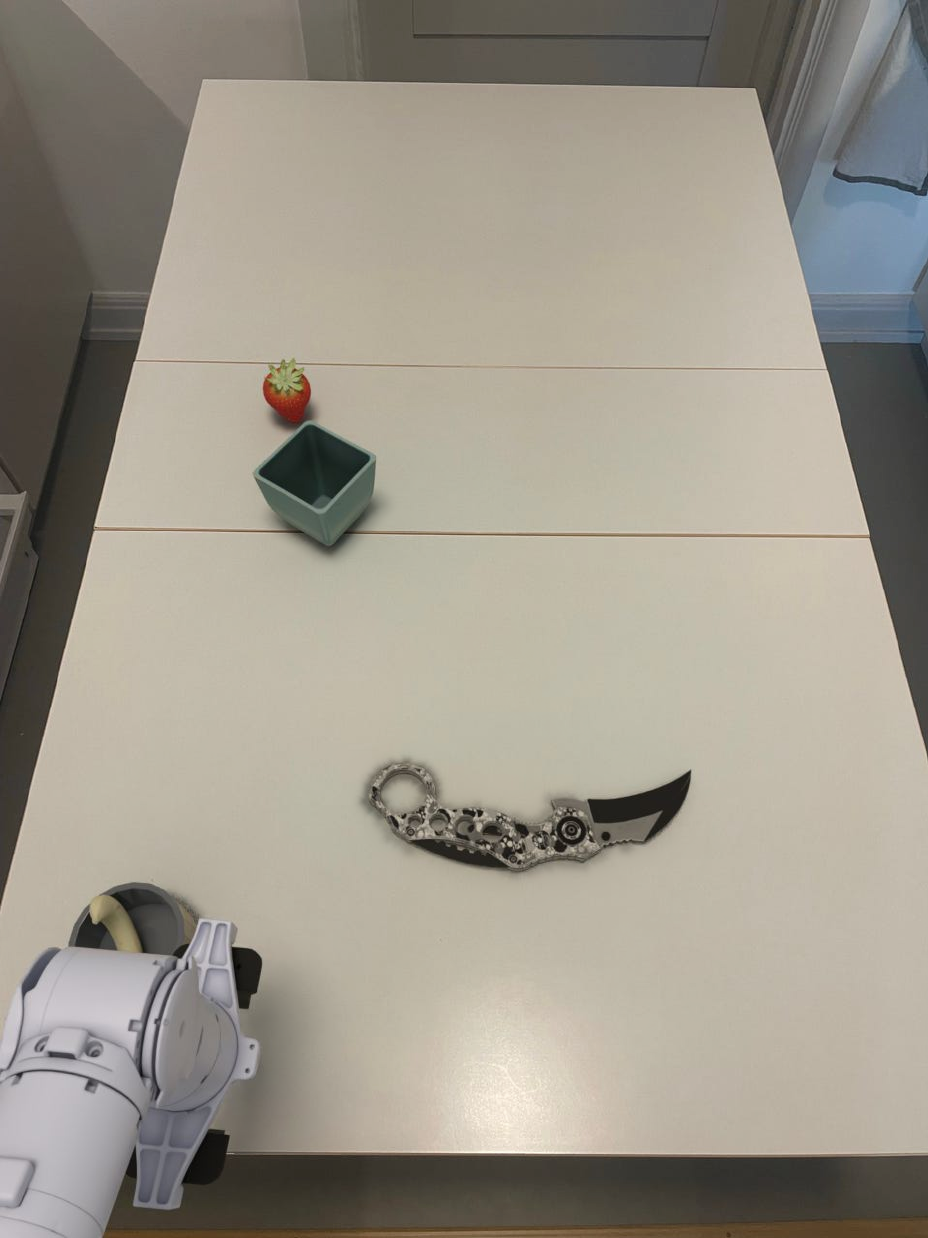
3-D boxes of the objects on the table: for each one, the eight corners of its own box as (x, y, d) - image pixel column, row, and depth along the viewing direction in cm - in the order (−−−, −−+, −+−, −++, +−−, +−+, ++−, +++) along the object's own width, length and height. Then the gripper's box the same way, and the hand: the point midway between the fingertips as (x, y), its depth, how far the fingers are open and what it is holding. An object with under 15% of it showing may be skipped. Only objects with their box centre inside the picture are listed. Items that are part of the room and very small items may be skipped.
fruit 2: (277, 441, 99) (265, 388, 92) (264, 408, 101) (251, 354, 94) (321, 429, 100) (312, 375, 93) (307, 396, 102) (298, 342, 95)
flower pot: (265, 529, 92) (249, 472, 85) (319, 475, 96) (308, 417, 88) (331, 569, 90) (321, 514, 82) (383, 512, 94) (378, 455, 86)
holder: (186, 1015, 68) (167, 1005, 64) (79, 1005, 68) (52, 994, 64) (211, 904, 73) (195, 887, 68) (110, 895, 73) (87, 877, 68)
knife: (693, 765, 78) (704, 877, 73) (689, 773, 80) (699, 883, 74) (374, 748, 79) (360, 857, 73) (375, 755, 80) (362, 864, 74)
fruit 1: (153, 935, 71) (131, 941, 71) (106, 875, 66) (84, 882, 66) (146, 978, 68) (124, 985, 68) (97, 918, 63) (74, 925, 63)
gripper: (208, 1222, 42) (259, 1206, 53) (269, 907, 49) (302, 954, 61) (61, 1207, 42) (144, 1195, 54) (143, 896, 49) (200, 945, 61)
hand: (221, 1066), depth 57 cm, fingers open, 7 cm apart
